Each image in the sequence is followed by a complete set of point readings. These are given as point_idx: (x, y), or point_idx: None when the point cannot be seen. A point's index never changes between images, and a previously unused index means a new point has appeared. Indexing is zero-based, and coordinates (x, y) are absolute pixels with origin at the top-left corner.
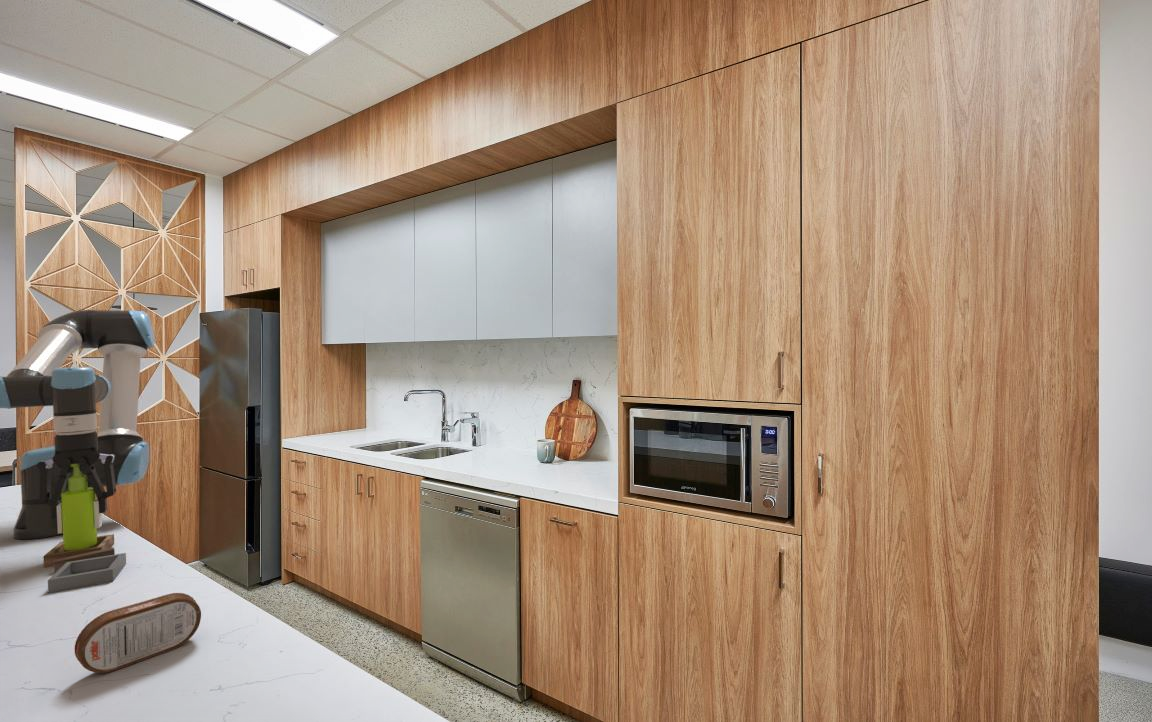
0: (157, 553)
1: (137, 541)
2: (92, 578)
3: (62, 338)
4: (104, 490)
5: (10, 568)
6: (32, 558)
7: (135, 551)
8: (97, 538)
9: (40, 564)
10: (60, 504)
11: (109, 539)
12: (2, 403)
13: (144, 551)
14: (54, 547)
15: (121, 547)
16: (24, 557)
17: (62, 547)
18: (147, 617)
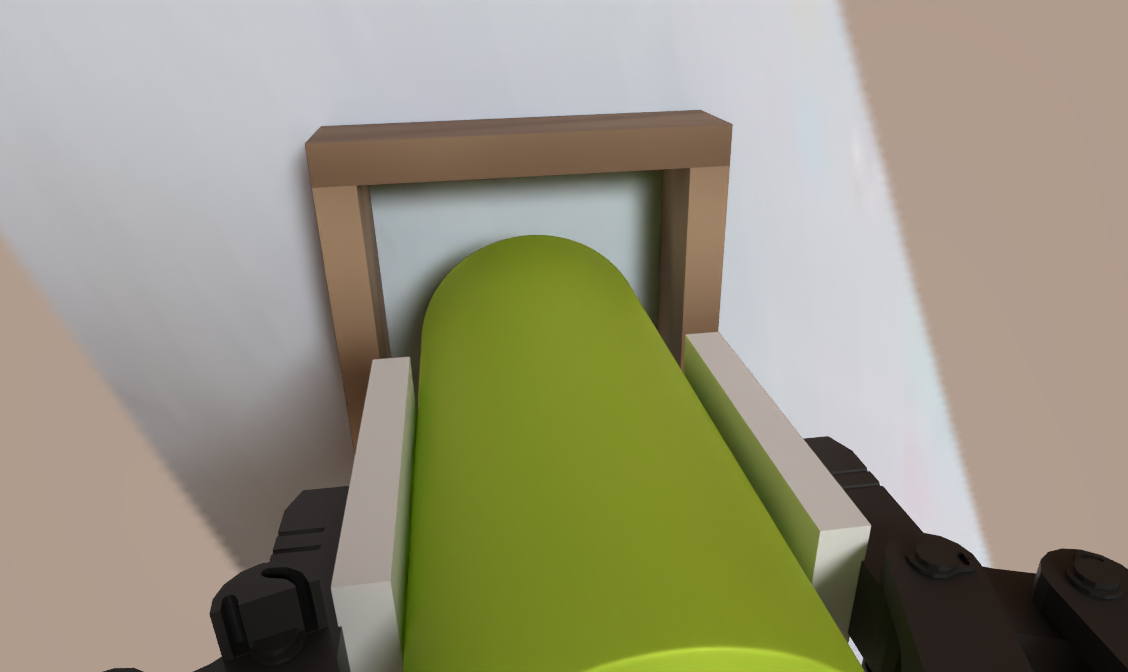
0: (965, 506)
1: (859, 129)
2: None
3: None
4: (1007, 647)
5: (126, 402)
6: (147, 200)
7: (856, 404)
8: (610, 169)
9: (314, 405)
10: (376, 670)
11: (719, 282)
12: None
13: (904, 431)
14: (340, 329)
15: (764, 250)
16: (40, 122)
17: (367, 240)
18: None
